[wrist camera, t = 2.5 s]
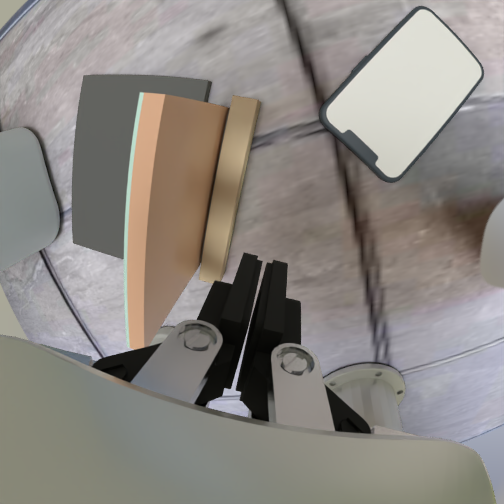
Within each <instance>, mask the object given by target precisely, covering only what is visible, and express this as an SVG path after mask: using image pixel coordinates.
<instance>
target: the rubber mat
mask: <svg viewBox="0 0 504 504" xmlns="http://www.w3.org/2000/svg"><path fill="white" fill-rule="evenodd" d="M211 83H212V82H210V81H208V80H200V79H190V78H180V77H168V76H151V75H84V76H83V82H82V87H81V93H80V100H79V106H78V114H77V122H76V131H75V141H74V154H73V172H72V233H73V243H74V244H77V245H80V246H83V247H86V248H89V249H92V250H96V251H99V252H102V253H105V254H108V255H111V256H114V257H117V258H121V259H124V231H125V210H126V195H127V183H128V172H129V163H130V154H131V146H132V138H133V131H134V124H135V118H136V112H137V106H138V100H139V95H140V92H143V93H156V94H166V95H172V96H178V97H183V98H188V99H193V100H198V101H202V102H207V101H208V96H209V92H210V87H211Z"/></svg>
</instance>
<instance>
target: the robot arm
mask: <svg viewBox="0 0 504 504" xmlns="http://www.w3.org/2000/svg"><path fill="white" fill-rule="evenodd" d="M257 258H258V256H256V255H252V254H248V253H244V254H243V256H242V259H241V262H240V265H239V268H238V271H237V273H236V276H235V279H234V282H233V284H229V283H225V282H221V281H217V280H215V281H214V283H213V285H212V287H211V289H210V292H209V294H208V296H207V298H206V300H205V303H204V305H203V307H202V309H201V311H200V314H199V316H198V318H197V320H187V321H184V322H181V323H179V324H178V325H177V326H176V327H175V328H174V329H173V330H172V331H171V332H170V334H169V335H168V336H167V337H166V339H165V340H164V341H163V342H162V343H159V344H155V345H151V346H147V347H144V348H140V349H136V350H132V351H128V352H124V353H120V354H116V355H112V356H108V357H105V358H102V359H99V360H98V361H94V360H92V357H91V356H87V355H82V354H78V353H74V352H69V351H65V350H61V349H57V348H54V347H50V346H46V345H43V344H37V343H34V342H32V341H28V340H25V339H21V338H17V337H12V336H6V335H0V504H496V500H495V495H494V491H493V487H492V483H491V480H490V477H489V474H488V471H487V469H486V466H485V464H484V462H483V460H482V458H481V457H480V455H479V454H478V453H477V452H476V451H474V450H473V449H471V448H470V447H468V446H466V445H464V444H461V443H458V442H455V441H452V440H447V439H442V438H436V437H426V436H418V435H414V434H409V433H405V432H404V431H403V427H402V422H401V418H400V413H399V409H398V405H399V404H400V403H401V401H402V400H403V397H404V395H405V390H406V388H405V383H404V380H403V377H402V376H401V374H400V373H399V372H398V371H397V370H395V369H394V368H391V367H389V366H386V365H381V364H358V365H354V366H349V367H346V368H343V369H340V370H338V371H336V372H334V373H331V374H330V375H328V376H327V377H325V378H323V376H322V372H321V368H320V364H319V361H318V359H317V357H316V355H315V354H314V353H313V352H312V351H311V350H309V349H308V348H306V347H304V346H302V345H301V303H300V301H297V300H293V299H289V298H286V286H287V267H288V263H284V262H280V261H276V260H273V263H268V262H267V264H266V268H265V271H264V275H263V279H262V282H261V286H260V290H259V293H258V297H257V301H256V304H255V308H254V311H253V315H252V319H251V323H250V327H249V331H248V336H247V341H246V345H245V350H244V354H243V359H242V364H241V368H240V373H239V377H238V382H237V386H236V391H240V392H241V396H240V401H242V402H243V403H244V404H245V405H246V406H247V407H248V409H249V412H248V417H243V416H239V415H234V414H230V413H226V412H222V411H218V410H214V409H210V408H208V407H209V403H210V401H211V400H214V399H216V398H218V397H221V396H222V395H223V391H224V388H228V389H231V386H232V383H233V379H234V376H235V372H236V369H237V365H238V362H239V358H240V355H241V351H242V348H243V344H244V340H245V337H246V333H247V330H248V326H249V322H250V317H251V313H252V308H253V303H254V299H255V294H256V290H257V285H258V280H259V276H260V271H261V266H262V262H263V261H260V260H257Z"/></svg>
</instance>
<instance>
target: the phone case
mask: <svg viewBox="0 0 504 504" xmlns="http://www.w3.org/2000/svg"><path fill="white" fill-rule="evenodd" d="M483 77H484V70H483V67H482V65H481V63H480V62H479V60H478V59H477V58H476V57H475V55H474V54H473V53H472V52H471V51H470V50H469V48H468V47H467V46H466V45H465V44H464V43H463V42H462V40H461V39H460V38H459V37H458V36H457V35H456V34H455V33H454V32H453V31H452V30H451V29H450V28H449V27H448V26H447V25H446V24H445V23H444V22H443V21H442V20H441V19H440V18H439V17H438V16H437V15H436V14H435V13H434V12H433V11H432V10H431V9H429V8H427V7H424V6H418V7H416V8H414V9H413V10H412V11H411V12H410V13H409V14H408V15H407V16H406V17H405V18H404V19H403V20H402V21H401V22H400V23H399V24H398V25H397V26H396V27H395V28H394V29H393V30H392V31H391V32H390V33H389V34H388V35H387V36H386V37H385V38H384V39H383V40H382V41H381V43H380V44H379V45H378V46H377V47H376V48H375V49H374V50H373V51H372V52H371V53H370V54H369V55H368V56H365V57H364V58H363V60H362V61H361V62H360V63H359V64H358V65H357V66H356V67H355V68H354V69H353V70H352V71H351V74H350V76H349V77H348V78H347V79H346V80H345V81H344V82H343V83H342V84H341V85H340V86H339V88H338V89H337V90H336V91H335V92H334V93H333V94H332V95H331V96H330V98H329V99H328V100H327V101H326V102H325V103H324V104H323V105H322V107H321V109H320V112H319V118H320V121H321V123H322V125H323V126H324V127H325V128H326V129H328V130H329V131H330V132H331V133H332V134H333V135H334V136H336V137H337V138H338V139H339V140H340V141H341V142H342V143H343V144H344V145H346V146H347V147H348V148H349V149H350V150H351V151H352V152H353V153H354V154H355V155H356V156H357V157H358V158H360V159H361V160H362V161H363V162H364V163H365V164H366V165H367V166H368V167H369V168H370V169H371V170H372V171H373V172H374V173H375V174H376V175H377V176H378V177H379V178H380V179H382V180H384V181H385V182H390V183H393V182H397V181H398V180H400V179H401V178H402V177H403V176H404V175H405V174H406V172H407V171H408V170H409V169H410V168H411V167H412V166H413V164H414V163H415V162H416V161H417V160H418V159H419V157H421V156H422V154H423V153H424V152H425V151H426V150H427V149H428V147H429V146H430V145H431V144H432V143H433V141H434V140H435V139H436V138H437V137H438V135H439V134H440V133H441V131H442V130H443V129H444V128H445V127H446V125H447V124H448V123H449V122H450V120H451V119H452V118H453V117H454V115H455V114H456V113H457V112H458V110H459V109H460V108H461V107H462V105H463V104H464V103H465V102H466V100H467V99H468V98H469V96H470V95H471V94H472V92H473V91H474V90H475V89H476V87H477V86H478V85H479V83H480V82H481V81H482V79H483Z"/></svg>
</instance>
